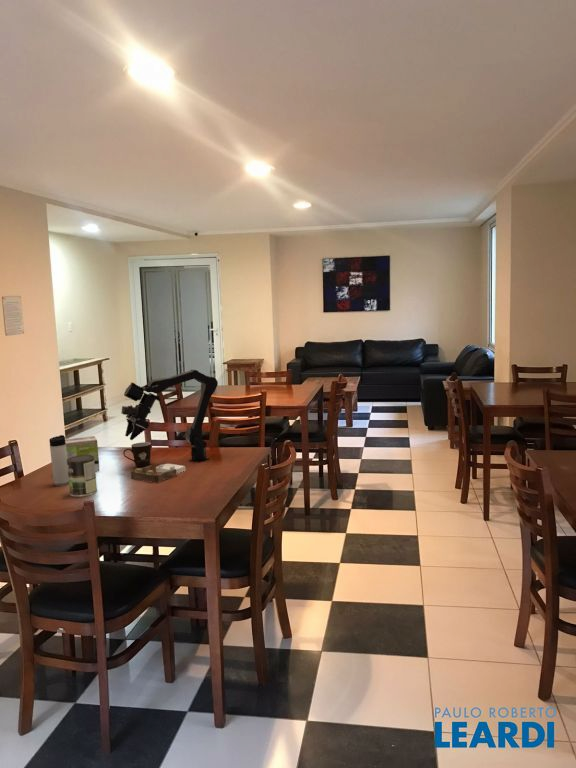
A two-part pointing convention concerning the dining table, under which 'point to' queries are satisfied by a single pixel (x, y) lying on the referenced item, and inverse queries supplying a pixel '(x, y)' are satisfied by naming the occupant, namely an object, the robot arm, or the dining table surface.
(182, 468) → the door panel
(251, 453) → the dining table surface
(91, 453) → the tea box
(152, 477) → the cabinet frame
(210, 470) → the dining table surface
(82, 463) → the coffee can
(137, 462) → the coffee mug
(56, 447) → the travel mug
